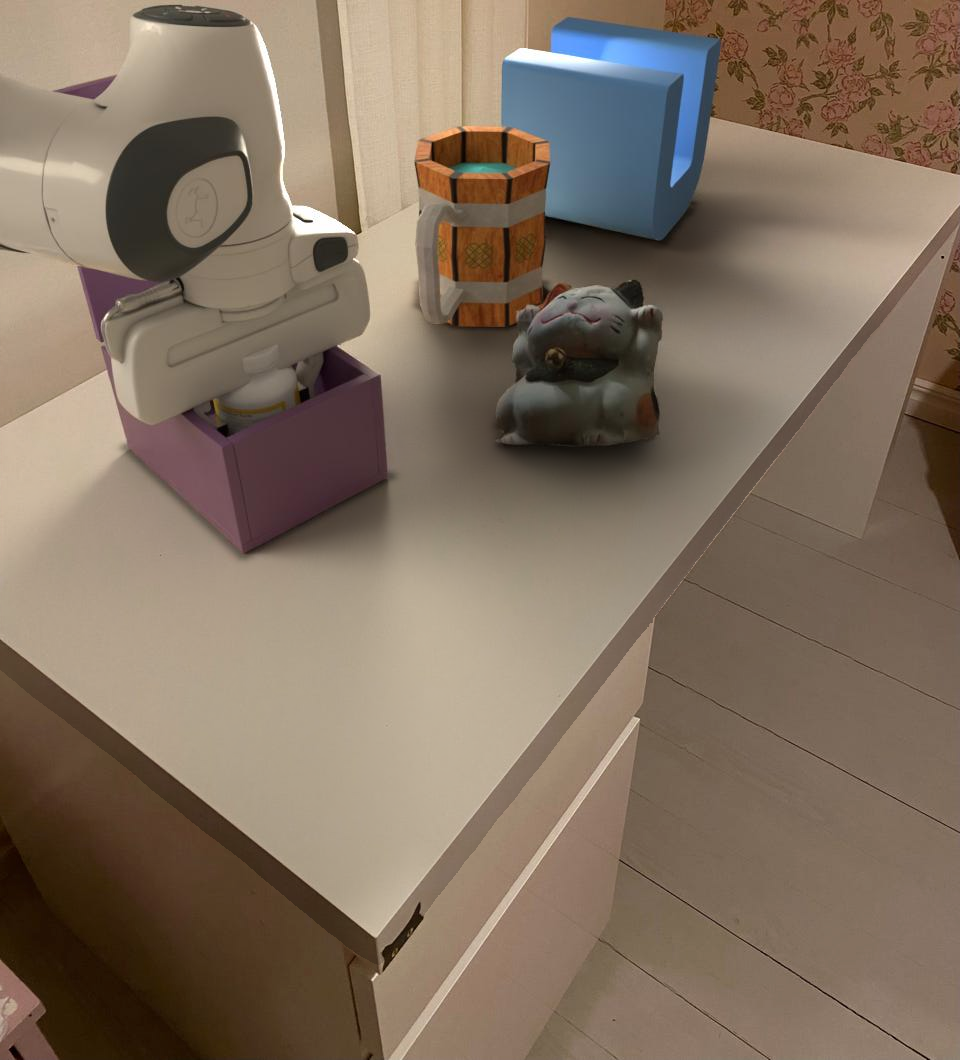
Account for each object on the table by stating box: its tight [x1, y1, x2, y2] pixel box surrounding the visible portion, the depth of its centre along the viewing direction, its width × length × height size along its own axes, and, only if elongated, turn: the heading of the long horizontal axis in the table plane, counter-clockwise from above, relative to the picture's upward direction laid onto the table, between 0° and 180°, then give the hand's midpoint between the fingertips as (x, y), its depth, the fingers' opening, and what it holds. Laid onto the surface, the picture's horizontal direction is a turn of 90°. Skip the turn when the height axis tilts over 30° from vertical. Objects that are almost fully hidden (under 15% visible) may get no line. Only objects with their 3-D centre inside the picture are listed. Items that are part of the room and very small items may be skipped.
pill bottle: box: [213, 344, 301, 436], centre depth 81 cm, size 6×6×12 cm
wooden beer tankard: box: [414, 125, 550, 328], centre depth 101 cm, size 20×14×15 cm
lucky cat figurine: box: [495, 278, 664, 448], centre depth 87 cm, size 15×12×14 cm
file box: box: [100, 344, 389, 554], centre depth 83 cm, size 18×14×10 cm
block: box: [500, 16, 722, 241], centre depth 117 cm, size 18×18×18 cm
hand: (260, 420), depth 82 cm, fingers closed on pill bottle, 6 cm apart
